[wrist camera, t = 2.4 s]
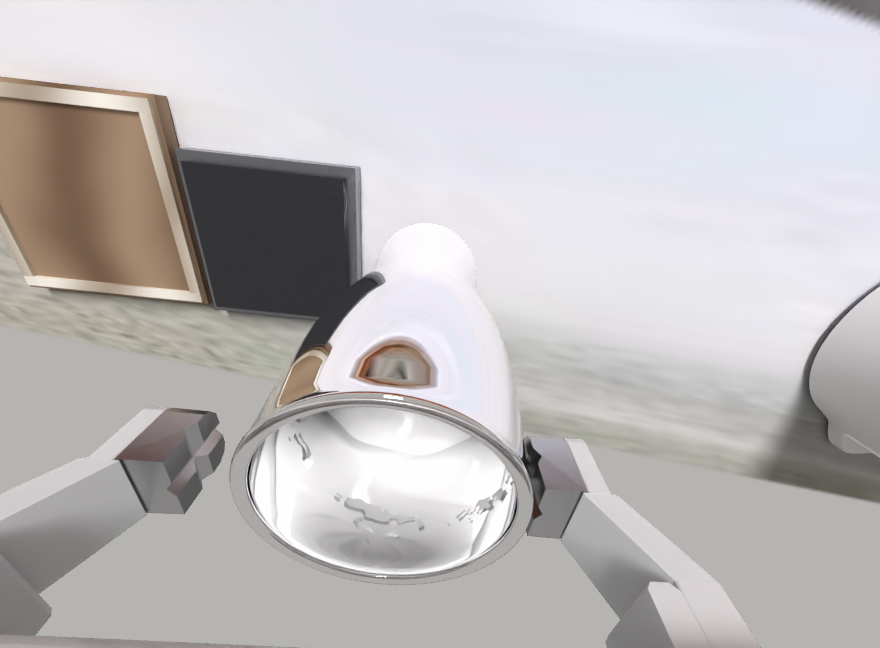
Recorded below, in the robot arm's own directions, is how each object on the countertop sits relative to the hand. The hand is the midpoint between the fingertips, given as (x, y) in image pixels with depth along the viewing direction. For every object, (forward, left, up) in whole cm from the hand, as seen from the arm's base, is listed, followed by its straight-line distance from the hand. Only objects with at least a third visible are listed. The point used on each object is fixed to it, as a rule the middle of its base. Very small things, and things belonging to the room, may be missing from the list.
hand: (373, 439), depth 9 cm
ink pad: (+8, -1, -13) cm, 15 cm away
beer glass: (-1, 0, -13) cm, 13 cm away
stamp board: (+18, -2, -13) cm, 23 cm away
